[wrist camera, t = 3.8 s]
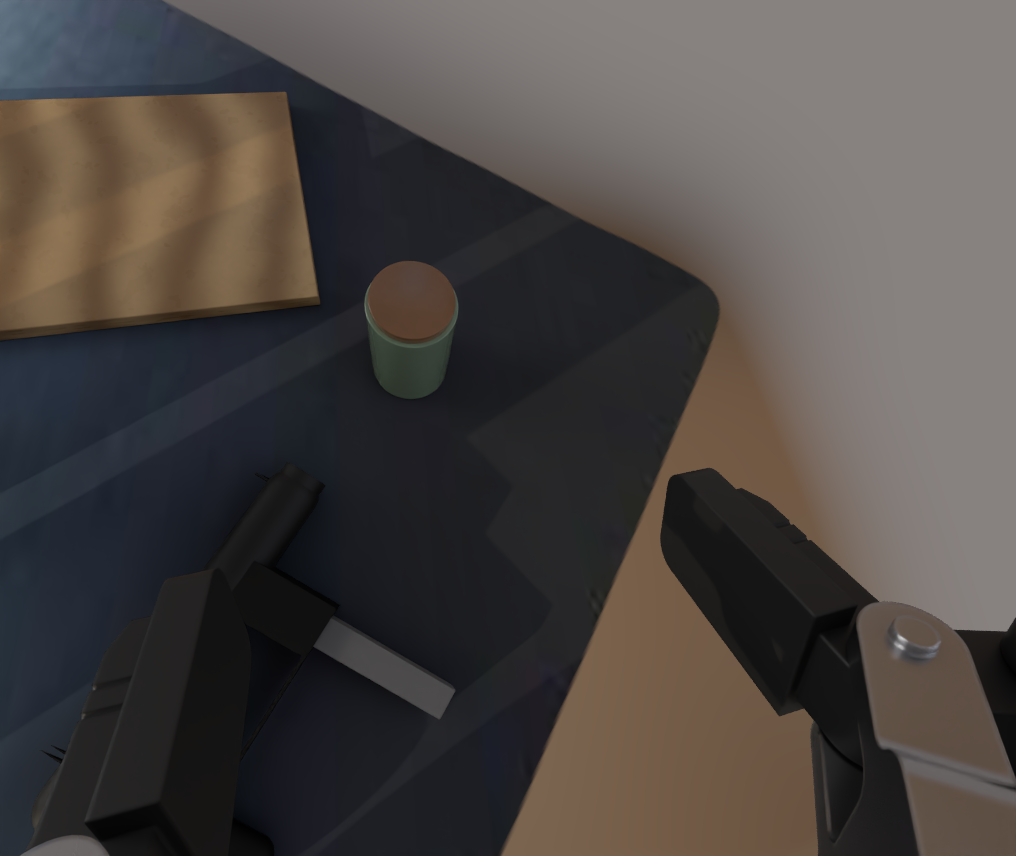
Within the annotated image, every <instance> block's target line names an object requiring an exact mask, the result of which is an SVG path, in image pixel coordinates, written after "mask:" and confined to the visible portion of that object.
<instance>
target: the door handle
mask: <svg viewBox="0 0 1016 856" xmlns="http://www.w3.org/2000/svg"><path fill="white" fill-rule="evenodd" d="M255 475H257V476H258V477H260V478H262V479H263V480H265V481H267V483H266V484H265V486H264V487H263V488H262V490H261V491H260V492H259V494H258V495H257V496H256V498H255V499H254V501H253V502H252V503H251V505H250V506H249V507H248V509H247V510H246V511H245V513H244V514H243V516H242V517H241V518H240V520H239V521H238V522H237V524H236V525H235V526H234V528H233V529H232V531H231V532H230V533H229V535H228V536H227V537H226V539H225V540H224V541H223V543H222V544H221V546H220V547H219V548H218V550H217V551H216V552H215V554H214V555H213V557H212V558H211V559H210V561H209V562H208V563H207V565H206V566H205V567H204V569H203V570H202V571H206V570H211V569H215V568H219V569H221V570H222V571H223V573H224V575H225V577H226V579H227V582H228V584H229V587H230V589H231V592H232V594H233V597H234V599H235V602H236V604H237V607H238V609H239V612H240V614H241V617H242V619H243V622H244V623H245V624H247V625H248V626H250V627H252V628H254V629H255V630H257V631H259V632H261V633H262V634H264V635H266V636H268V637H269V638H271V639H273V640H274V641H276V642H278V643H280V644H281V645H283V646H285V647H287V648H288V649H290V650H292V651H294V652H295V653H297V654H299V655H301V656H302V657H301V659H300V660H299V662H298V663H297V665H296V667H295V668H294V670H293V671H292V673H291V674H290V676H289V678H288V679H287V681H286V682H285V684H284V685H283V687H282V689H281V690H280V692H279V693H278V695H277V696H276V698H275V700H274V701H273V703H272V704H271V706H270V707H269V709H268V711H267V712H266V714H265V715H264V717H263V718H262V720H261V722H260V723H259V725H258V726H257V728H256V729H255V731H254V733H253V734H252V736H251V737H250V739H249V740H248V742H247V744H246V745H245V747H244V748H243V750H242V751H241V756H240V761H241V760H242V758H243V757H244V755H245V753H246V752H247V750H248V749H249V747H250V745H251V744H252V742H253V741H254V739H255V738H256V736H257V734H258V733H259V731H260V730H261V728H262V727H263V725H264V723H265V722H266V720H267V719H268V717H269V716H270V714H271V712H272V711H273V709H274V708H275V706H276V704H277V703H278V701H279V700H280V698H281V697H282V695H283V693H284V692H285V690H286V689H287V687H288V686H289V684H290V682H291V681H292V679H293V678H294V676H295V675H296V673H297V671H298V670H299V668H300V667H301V665H302V663H303V662H304V660H305V659H306V657H307V656H308V654H309V653H310V651H311V650H312V648H313V647H315V648H317V649H318V650H320V651H322V652H324V653H325V654H327V655H329V656H330V657H332V658H334V659H336V660H337V661H339V662H341V663H343V664H344V665H346V666H348V667H350V668H351V669H353V670H355V671H356V672H358V673H360V674H362V675H363V676H365V677H367V678H369V679H370V680H372V681H374V682H375V683H377V684H379V685H381V686H382V687H384V688H386V689H388V690H389V691H391V692H393V693H394V694H396V695H398V696H400V697H401V698H403V699H405V700H407V701H408V702H410V703H412V704H414V705H415V706H417V707H419V708H420V709H422V710H424V711H426V712H427V713H429V714H431V715H433V716H434V717H436V718H438V719H439V720H440V718H441V716H442V715H443V713H444V711H445V709H446V707H447V705H448V703H449V701H450V700H451V698H452V696H453V694H454V692H455V689H454V688H453V686H452V684H450V683H448V682H447V681H445V680H443V679H441V678H440V677H438V676H436V675H435V674H433V673H431V672H429V671H428V670H426V669H424V668H423V667H421V666H419V665H417V664H416V663H414V662H412V661H411V660H409V659H407V658H405V657H404V656H402V655H400V654H399V653H397V652H395V651H393V650H392V649H390V648H388V647H387V646H385V645H383V644H382V643H380V642H378V641H376V640H375V639H373V638H371V637H370V636H368V635H366V634H364V633H363V632H361V631H359V630H358V629H356V628H354V627H352V626H351V625H349V624H347V623H346V622H344V621H342V620H340V619H339V618H337V617H335V616H334V614H335V612H336V610H337V609H338V607H339V606H340V605H339V604H337V603H336V602H334V601H332V600H330V599H329V598H327V597H325V596H324V595H322V594H320V593H318V592H317V591H315V590H313V589H312V588H310V587H308V586H307V585H305V584H303V583H301V582H300V581H298V580H296V579H295V578H293V577H291V576H289V575H288V574H286V573H284V572H283V571H281V570H279V569H278V568H276V567H274V566H275V565H276V564H277V562H278V561H279V559H280V558H281V556H282V555H283V553H284V552H285V550H286V549H287V548H288V546H289V545H290V543H291V542H292V540H293V539H294V537H295V536H296V535H297V533H298V532H299V530H300V529H301V527H302V526H303V524H304V523H305V521H306V520H307V519H308V517H309V516H310V514H311V513H312V511H313V510H314V508H315V507H316V505H317V502H318V498H319V494H320V493H321V491H322V490H323V488H324V487H325V485H324V484H323V483H321V482H320V481H318V480H317V479H315V478H314V477H312V476H311V475H309V474H308V473H306V472H304V471H303V470H301V469H299V468H298V467H296V466H294V465H292V464H290V463H288V462H287V463H286V464H285V466H284V467H283V468H282V470H281V471H280V472H278V473H276V474H275V475H273V476H272V477H271V478H270V479H269V478H267V477H266V478H267V479H266V478H264V477H265V476H264V477H263V476H261V475H262V474H261V475H259V474H258V473H255ZM268 479H269V480H268ZM51 746H52V745H51ZM53 747H54V746H53ZM54 748H56V749H57V750H59V751H60V752H62V753H63V754H65V753H66V751H64V750H61V749H59V748H57V747H54ZM41 751H42V750H41ZM43 752H44V751H43ZM44 753H45V754H47V755H48V756H50V757H51V758H53V759H54V760H56V761H57V762H59V763H60V765H59V767H58V768H57V769H56V771H55V772H54V773H53V775H52V776H51V778H50V779H49V780H48V782H47V783H46V784H45V786H44V787H43V788H42V790H41V791H40V793H39V794H38V796H37V798H36V800H35V802H34V805H33V809H32V824H33V827H34V829H36V827H37V824H38V822H39V819H40V817H41V814H42V811H43V809H44V806H45V804H46V801H47V799H48V796H49V794H50V791H51V788H52V786H53V783H54V781H55V778H56V776H57V773H58V771H59V768H60V766H61V763H62V760H63V759H61V758H58V757H56V756H53V755H51V754H49V753H46V752H44ZM228 856H274V847H273V843H272V841H271V840H270V838H269V837H267V836H266V835H264V834H262V833H260V832H258V831H256V830H255V829H253V828H251V827H249V826H247V825H245V824H244V823H242V822H240V821H238V820H236V819H234V818H233V820H232V828H231V836H230V844H229V852H228Z"/></svg>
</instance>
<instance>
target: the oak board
mask: <svg viewBox="0 0 1016 856" xmlns="http://www.w3.org/2000/svg"><path fill="white" fill-rule="evenodd" d="M312 305H320V297H319V290H318V284H317V278H316V271H315V265H314V259H313V252H312V246H311V240H310V233H309V227H308V221H307V214H306V208H305V202H304V195H303V189H302V183H301V176H300V170H299V164H298V157H297V151H296V145H295V138H294V132H293V126H292V119H291V113H290V107H289V102H288V98H287V94H286V92H266V93H233V94H200V95H167V96H134V97H102V98H69V99H36V100H3V101H0V341H2V340H11V339H19V338H28V337H37V336H46V335H55V334H64V333H73V332H82V331H90V330H99V329H108V328H117V327H126V326H135V325H144V324H152V323H161V322H170V321H179V320H188V319H197V318H206V317H214V316H223V315H232V314H241V313H250V312H259V311H268V310H276V309H285V308H294V307H303V306H312Z"/></svg>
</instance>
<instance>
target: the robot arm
mask: <svg viewBox="0 0 1016 856" xmlns="http://www.w3.org/2000/svg"><path fill="white" fill-rule="evenodd" d="M660 539H661V547H662V552H663V555H664V558H665V561H666V562H667V565H668V566H669V568H670V569H671V571H672V572H673V573H674V574H675V576H676V577H677V579H678V580H679V581H680V583H681V584H682V586H683V587H684V588H685V590H686V591H687V592H688V594H689V595H690V596H691V597H692V599H693V600H694V602H695V603H696V605H697V606H698V607H699V609H700V610H701V611H702V613H703V614H704V615H705V617H706V618H707V619H708V621H709V622H710V623H711V625H712V626H713V628H714V629H715V630H716V631H717V633H718V634H719V636H720V637H721V638H722V640H723V641H724V642H725V644H726V645H727V646H728V648H729V649H730V651H731V652H732V653H733V654H734V656H735V657H736V659H737V660H738V661H739V663H740V664H741V665H742V667H743V668H744V669H745V671H746V672H747V674H748V675H749V676H750V678H751V679H752V680H753V682H754V683H755V684H756V686H757V687H758V688H759V690H760V691H761V692H762V694H763V695H764V696H765V698H766V699H767V701H768V702H769V703H770V704H771V706H772V707H773V709H774V710H775V711H776V713H777V714H778V715H779V716H782V715H785V714H788V713H791V712H794V711H798V710H800V709H805V710H806V711H807V712H808V714H809V715H810V716H811V717H812V719H813V720H814V721H813V724H812V727H811V749H812V763H813V777H814V778H813V779H814V793H815V808H816V822H817V837H818V856H1016V618H1015V619H1014V621H1013V623H1012V624H1011V626H1010V627H1009V629H1008V631H1007V632H1000V631H972V630H971V631H970V630H952V629H951V628H950V627H949V626H948V625H947V624H945V623H944V622H942V621H941V620H940V619H938V618H936V617H935V616H933V615H931V614H929V613H927V612H925V611H923V610H921V609H918V608H916V607H913V606H910V605H906V604H902V603H896V602H879V601H878V600H877V599H876V598H874V597H873V596H872V595H871V594H870V593H869V592H868V591H867V590H866V589H864V588H863V587H862V586H861V585H860V584H859V583H858V582H857V581H855V580H854V579H853V578H852V577H851V576H850V575H849V574H848V573H847V572H846V571H845V570H843V569H842V568H841V567H840V566H839V565H838V564H837V563H836V562H835V561H833V560H832V559H831V558H830V557H829V556H828V555H827V554H826V553H824V552H823V551H822V550H821V549H820V548H819V547H818V546H817V545H816V544H815V543H813V542H812V541H811V540H809V541H808V540H807V538H806V535H805V534H804V533H802V532H801V531H800V530H799V529H798V528H797V527H796V526H795V525H791V524H790V523H789V520H788V519H787V518H786V517H785V516H784V515H783V514H781V513H780V512H779V511H778V510H777V509H776V508H775V507H774V506H773V505H772V504H770V503H769V502H768V501H766V500H764V499H762V498H760V497H758V496H756V495H754V494H752V493H750V492H748V491H746V490H744V489H742V488H740V489H735V488H734V487H733V486H732V485H731V484H730V483H729V482H728V481H727V480H726V479H725V478H723V477H722V475H720V474H719V473H718V472H717V471H716V470H714V469H712V468H706V469H701V470H696V471H691V472H686V473H682V474H677V475H673V476H672V477H671V478H670V479H669V482H668V486H667V493H666V500H665V507H664V515H663V521H662V528H661V538H660ZM251 664H252V659H251V646H250V640H249V636H248V632H247V629H246V627H245V624H244V622H243V619H242V617H241V614H240V612H239V609H238V607H237V604H236V602H235V599H234V597H233V594H232V592H231V589H230V587H229V584H228V582H227V579H226V577H225V575H224V573H223V571H222V570H221V569H219V568H215V569H211V570H206V571H201V572H196V573H191V574H186V575H182V576H177V577H172V578H168V579H166V580H165V581H164V583H163V585H162V587H161V590H160V593H159V596H158V599H157V602H156V605H155V608H154V611H153V614H152V616H149V617H144V618H140V619H135V620H131V621H130V623H129V624H128V625H127V626H126V627H125V629H124V630H123V631H122V632H121V633H120V635H119V636H118V637H117V638H116V639H115V641H114V642H113V643H112V644H111V645H110V647H109V648H108V649H107V650H106V651H105V653H104V656H103V659H102V661H101V664H100V666H99V669H98V671H97V674H96V676H95V679H94V681H93V684H92V686H93V690H92V691H91V692H89V694H88V697H87V699H86V702H85V704H84V707H83V709H82V712H81V715H82V718H81V720H80V721H78V722H77V725H76V727H75V730H74V732H73V735H72V738H71V740H70V743H69V745H68V748H67V750H66V753H65V755H64V758H63V760H62V763H61V766H60V768H59V771H58V773H57V776H56V778H55V781H54V783H53V786H52V788H51V791H50V794H49V796H48V799H47V801H46V804H45V806H44V809H43V811H42V814H41V817H40V819H39V822H38V824H37V827H36V829H35V832H34V834H33V837H32V839H31V841H30V843H29V845H28V847H27V849H26V851H25V853H23V854H22V855H20V856H228V852H229V844H230V836H231V828H232V820H233V812H234V804H235V796H236V788H237V780H238V772H239V764H240V756H241V748H242V740H243V732H244V724H245V716H246V708H247V700H248V691H249V683H250V675H251Z"/></svg>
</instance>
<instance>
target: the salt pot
mask: <svg viewBox="0 0 1016 856" xmlns="http://www.w3.org/2000/svg"><path fill="white" fill-rule="evenodd" d="M364 306H365V314H366V321H367V328H368V335H369V343H370V350H371V357H372V364H373V370H374V374H375V377H376V379H377V381H378V382H379V384H380V385H381V386H382V387H383V388H384V389H385V390H386V391H388V392H389V393H391V394H392V395H394V396H397V397H400V398H405V399H417V398H422V397H425V396H427V395H429V394H431V393H432V392H434V391H435V390H436V389H437V388H438V387H439V386H440V385H441V383H442V382H443V380H444V378H445V375H446V371H447V366H448V361H449V356H450V351H451V346H452V341H453V336H454V331H455V327H456V322H457V317H458V300H457V296H456V294H455V291H454V289H453V288H452V286H451V284H450V282H449V281H448V279H447V278H446V277H445V276H444V275H443V274H442V273H441V272H440V271H439V270H437V269H436V268H434V267H432V266H430V265H428V264H425V263H422V262H417V261H403V262H398V263H394V264H392V265H389V266H388V267H386V268H384V269H383V270H382V271H380V272H379V273H378V274H377V275H376V277H375V278H374V279H373V281H372V282H371V284H370V286H369V287H368V289H367V292H366V296H365V304H364Z"/></svg>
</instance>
